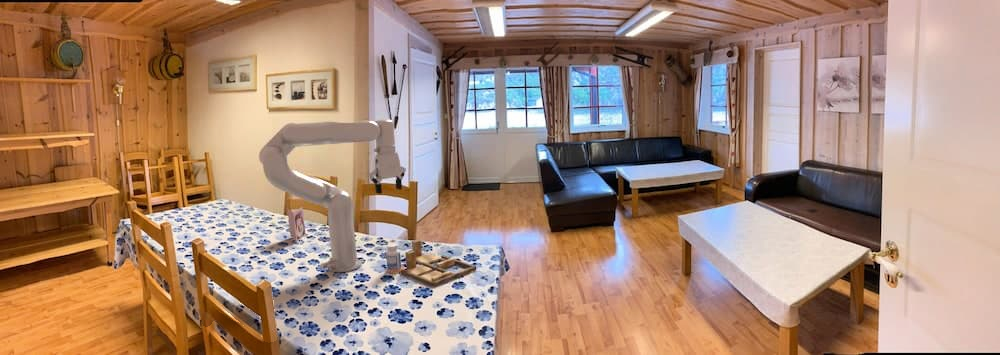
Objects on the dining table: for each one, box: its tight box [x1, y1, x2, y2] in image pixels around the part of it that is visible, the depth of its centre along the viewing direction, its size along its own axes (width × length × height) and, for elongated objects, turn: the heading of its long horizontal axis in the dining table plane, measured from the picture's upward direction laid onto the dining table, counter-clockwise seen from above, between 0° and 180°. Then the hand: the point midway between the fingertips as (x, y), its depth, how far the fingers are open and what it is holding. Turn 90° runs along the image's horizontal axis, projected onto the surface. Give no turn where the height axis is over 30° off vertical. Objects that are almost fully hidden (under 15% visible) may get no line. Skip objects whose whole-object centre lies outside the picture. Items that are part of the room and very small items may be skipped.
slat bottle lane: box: [411, 239, 456, 270], centre depth 200 cm, size 8×20×7 cm, turn 46°
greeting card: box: [286, 206, 306, 243], centre depth 235 cm, size 11×7×15 cm, turn 1°
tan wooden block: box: [404, 249, 433, 276], centre depth 190 cm, size 8×9×7 cm
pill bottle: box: [385, 243, 402, 271], centre depth 192 cm, size 6×5×10 cm
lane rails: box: [400, 255, 477, 288], centre depth 189 cm, size 21×20×2 cm
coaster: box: [386, 265, 406, 274], centre depth 193 cm, size 7×7×1 cm
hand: (389, 191), depth 203 cm, fingers open, 9 cm apart
